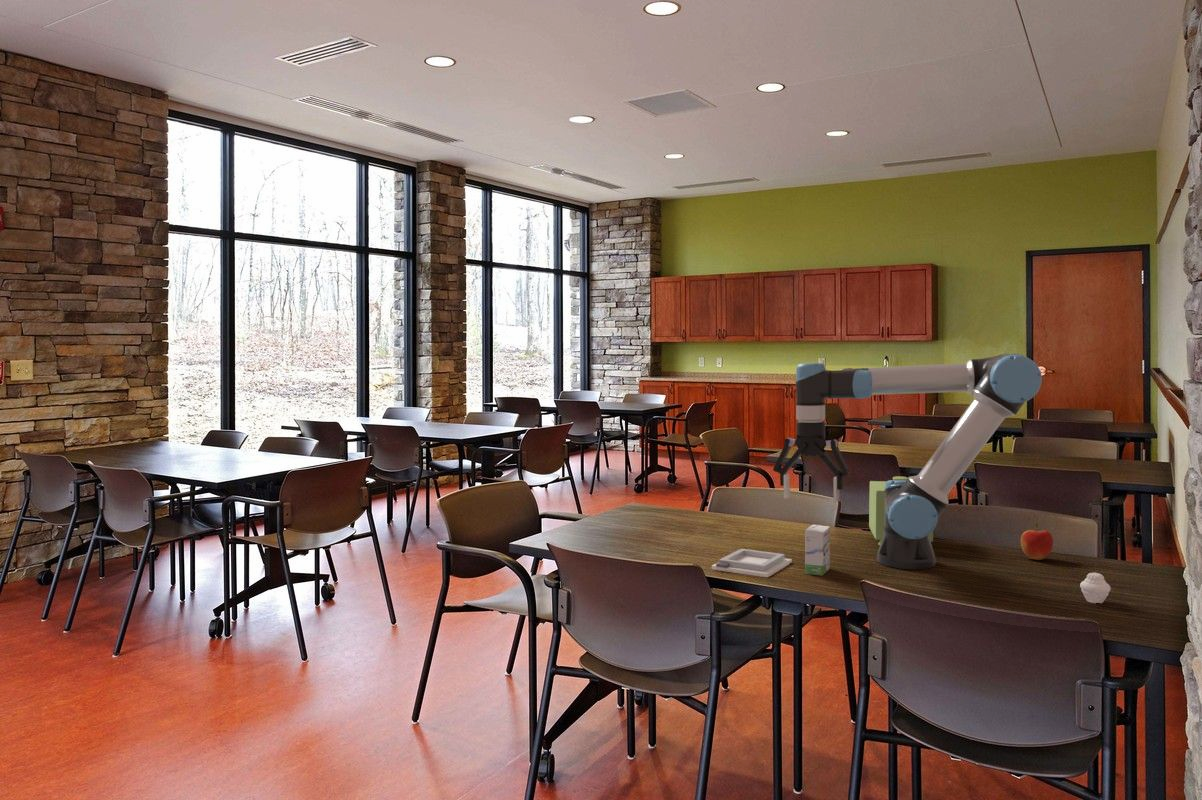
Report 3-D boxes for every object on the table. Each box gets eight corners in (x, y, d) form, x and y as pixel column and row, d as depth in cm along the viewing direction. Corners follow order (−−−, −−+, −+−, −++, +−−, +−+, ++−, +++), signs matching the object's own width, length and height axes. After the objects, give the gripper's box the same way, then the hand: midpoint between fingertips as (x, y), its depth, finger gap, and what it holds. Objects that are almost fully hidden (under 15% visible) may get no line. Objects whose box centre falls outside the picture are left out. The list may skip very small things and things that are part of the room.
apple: (1022, 561, 237) (1023, 526, 236) (1018, 554, 244) (1019, 520, 244) (1054, 564, 234) (1055, 528, 233) (1050, 557, 241) (1051, 522, 241)
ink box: (823, 576, 223) (823, 531, 222) (804, 574, 226) (804, 530, 225) (830, 568, 231) (830, 525, 230) (812, 566, 233) (812, 523, 232)
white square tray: (791, 562, 237) (791, 553, 237) (766, 577, 222) (767, 568, 222) (738, 555, 246) (738, 546, 246) (711, 569, 231) (711, 560, 230)
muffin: (1082, 604, 198) (1082, 574, 197) (1077, 596, 203) (1078, 567, 203) (1112, 606, 195) (1113, 576, 195) (1107, 599, 201) (1108, 570, 201)
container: (868, 533, 273) (869, 471, 272) (922, 535, 270) (923, 473, 269) (875, 547, 254) (876, 481, 253) (933, 549, 251) (934, 482, 250)
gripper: (861, 420, 224) (861, 500, 225) (770, 418, 237) (771, 494, 238) (854, 423, 218) (854, 505, 219) (761, 420, 231) (761, 498, 232)
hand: (811, 499), depth 229 cm, fingers open, 13 cm apart
